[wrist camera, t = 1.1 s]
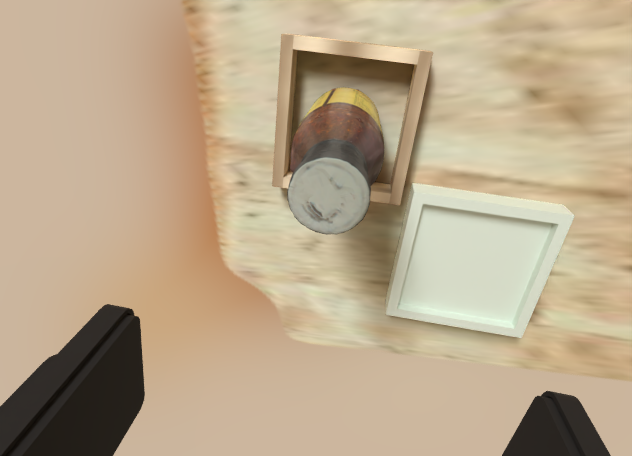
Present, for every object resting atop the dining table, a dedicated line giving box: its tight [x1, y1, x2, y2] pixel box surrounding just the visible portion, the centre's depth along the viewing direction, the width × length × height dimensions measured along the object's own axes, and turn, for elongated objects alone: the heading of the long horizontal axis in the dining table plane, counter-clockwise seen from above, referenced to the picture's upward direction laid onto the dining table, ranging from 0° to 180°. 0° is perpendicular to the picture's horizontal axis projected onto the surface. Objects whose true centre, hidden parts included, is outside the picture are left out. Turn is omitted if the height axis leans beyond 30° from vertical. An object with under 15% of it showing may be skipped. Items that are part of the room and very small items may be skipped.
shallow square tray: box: [385, 183, 575, 338], centre depth 40 cm, size 14×14×2 cm
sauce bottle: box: [287, 88, 384, 234], centre depth 28 cm, size 7×6×20 cm
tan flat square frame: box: [272, 34, 433, 205], centre depth 36 cm, size 12×13×2 cm
